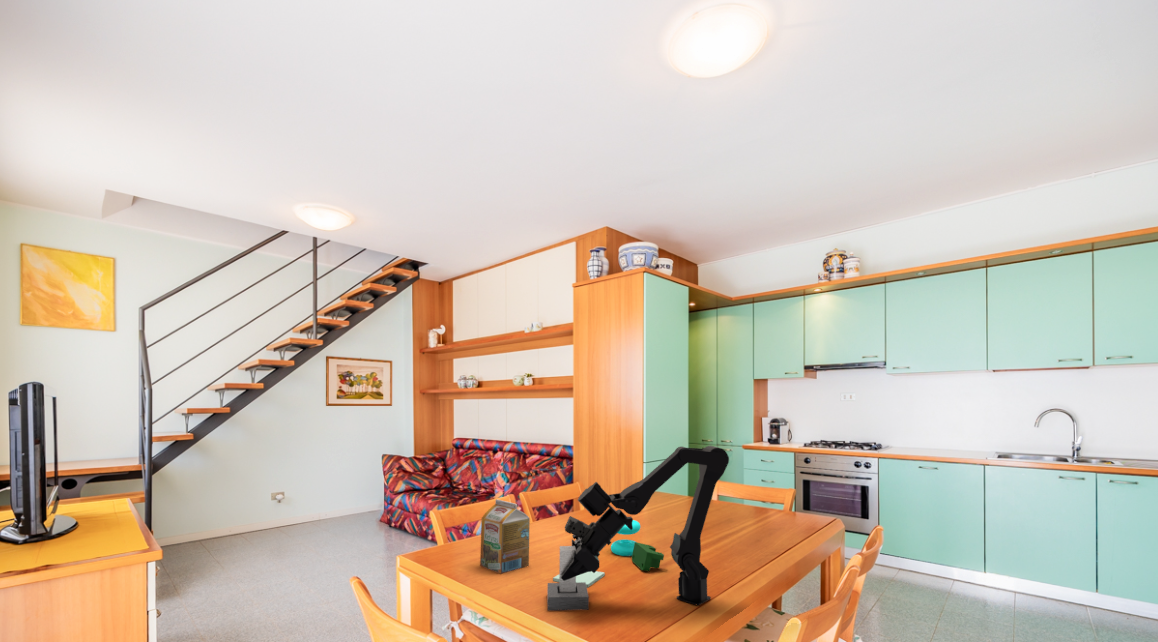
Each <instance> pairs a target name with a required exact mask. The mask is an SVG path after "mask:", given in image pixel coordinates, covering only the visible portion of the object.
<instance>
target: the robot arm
mask: <svg viewBox="0 0 1158 642" xmlns="http://www.w3.org/2000/svg"><path fill="white" fill-rule="evenodd" d="M729 463H730V457H729V455H728V453H727V451H726V450H724V449H723V448H720V447H717V446H714V445H707V446H705V447H703V448H701V447H700V448H696V447H685V446H678V447H676V449H675V450H674V451H673V452H672V453H671V454H670V455H669V456H668V457H666V459H664V460H663V461H662V462H661V463H660V464H659V465H657V466H656V467H655V468H654V469H653V470H652V471H651V472H650V473H648V474H647V475H646V476H645V477H643V478H642V479H641V480H639V481H637V482H634V483H632V484H630V485H629V486H627V487H626V488H624V489H623V490H621V492H617V493H612V494H608V493H607V492H606V491H605V490H604V489H603V488H602V487H601V485H600V484H599V482H597V481H595V482H594V483H593V484H591V485H590V486H589V487H587V488H584V490H583V492H581V493H580V495H579V497H578V499H577V501H578V502H579V504H581V506H582V507H583V508H584V509H585V510H586V511H587V512H588V513H589V514H590V515H591V516H592V517H595V516H597V517H599V518H598V519H597V520H596V521H593V522H592V521H591V522H590V524H587V523H586V522H584V521H582V520H579V519H577V518H575V517H573V516H570V515H569V517H568V519H567V521H566V523H565V525H564V531H565V532H566V533H568V534H569V535H570V534H572V535H571V536H572V539H571V546H575V548H576V551H574V558H573V561H572V562H571V563H570V565H569V566H568V568H567V569H566V571H565V572H564V574H563V575H562V577H561V578H562V580H563V581H565V580H568V579H570V578H573V577H575V576H578V575H581V574H584V573H586V572H591V571H592V572H593V573H595V572H596V571H598V569H599V568H600V560H599V556H601V554H600V552H601V551H602V550H603V549H604V548H605V547H606V545H607V546H610V545H611V544H612V541H611V540H612V539H614V537H615V536H616V535H617V534H618V532H619V530H620V529H621V528H622V527H623V526H624V525H626V526H627V527H628V528H629V529H630V530H632V529H633V527H632V521H633V520H634V519H633V517H632V516H635V515H638V514H640V513H641V512H642V511H643V510H644V509H645V507H646V506H647V505H648V504H649V502H650V500H651V499H652V497H653V495H654V494H655V492H656V491H657V490H658V489H660V488H661V487H662V486H663V485H664V484H666V482H667V481H669V480H670V479H671V478H672V477H673V476H674V475H675V474H676V473H677V472H679V471H680V470H681V469H683V467H684V466H685V465H687V464H695V465H698V475H699V478H698V481H697V483H696V487H695V491H694V495H693V497H692V501H691V505H690V508H689V511H688V514H687V518H686V521H685V524H684V528H683V529H682V531H681V532H680V533H679V534H678V533H676V532H675V533H673V538H672V539H673V540H672V543H671V545H670V546H669V548H670V549H671V553H670V554H671V555H670V556H671V558H672V559H673V561H674V562H675V563H676V565H677V566H678V567H679V569H680V570H681V571H680V572H679V577H678V579H677V580H678V582H677V583H678V595H677V596H676V599H677V600H678V601H682V602H684V603H685V602H686V603H687V604H688V603H689V604H690V605H691V604H692V605H695V606H700V605H702V604H705V602H708V601H710V600H711V599H712V598H711V596H710V595H708V576H709V573H710V570H709V569H708V568H707V567H706V566H705V565H704V564H703V563H702V562H701V553H702V546H701V545H702V544H701V536H702V533H703V529H704V527H705V526H704V525H705V522H706V518H707V516H708V512H709V509H710V505H711V502H712V498H713V495H714V492H715V487H716V485H717V482H718V481H719V480H720V479H721V477H722V476H723V475H724V473H725V472H726V469H727V468H728V466H729ZM611 504H612V505H611ZM613 506H614V507H613ZM616 509H617V510H616ZM622 510H623V511H624V512H625V513H626V514H628V515H631V516H628V515H626V514H625V513H624V512H623V511H622Z"/></svg>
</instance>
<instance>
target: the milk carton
mask: <svg viewBox="0 0 1158 642" xmlns="http://www.w3.org/2000/svg"><path fill="white" fill-rule="evenodd" d="M530 520H531V519H530V517H529V516H528V515H527V514H526V513H524V512H523V511H522V510H520V509H518V504H517V503H513V502H510V501H505V500H502V499H495V504H494V505H492V506H491V507H490V508H489V509H488V510H487V511H486V512H485V513H484V514H483V515H482V517H481V522H480V523H481V528H480V530H481V531H480V532H481V533H480V553H479V554H480V557H479V559H480V560H479V566H480V567H481V568H485V569H486V570H489V569H490V571H492V572H494V573H496V574H499V575H503V574H506V573H509V572H510V573H511V572H514V571H516V570H520V568H521V569H525V568H527V566H528V567H529V566H530V525H531V524H530V522H531V521H530Z"/></svg>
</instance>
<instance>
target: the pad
mask: <svg viewBox="0 0 1158 642" xmlns="http://www.w3.org/2000/svg"><path fill="white" fill-rule="evenodd" d="M605 575H606V574H605V572H603V571H598V570H597V571H596V572H595V573H593V572H592V571H591V572H586V573H584V574H581V575H578V576H576V583H579V582H586V587H587V589H588V588H589V587H591V586H592V585H593V584H595V583H596V582H598V581H599V580H601V579H602V578H603V577H605ZM552 581H553V582H555V583H559V574H557V575H555V576H553V577H552Z"/></svg>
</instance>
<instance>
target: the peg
mask: <svg viewBox="0 0 1158 642" xmlns="http://www.w3.org/2000/svg"><path fill="white" fill-rule="evenodd" d="M574 551H576V548H575V546H572V545H560V546H559V574H558V575H559V582H558V583H559V593H576V576H575V577H573V578H570V579H568V580H565V581H563V580H562V578H561V577H562V575H563V574H564V572H565V571H566V569H567V568H568V566H569V565H570V563H571V562H572V561H573V558H574Z"/></svg>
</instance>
